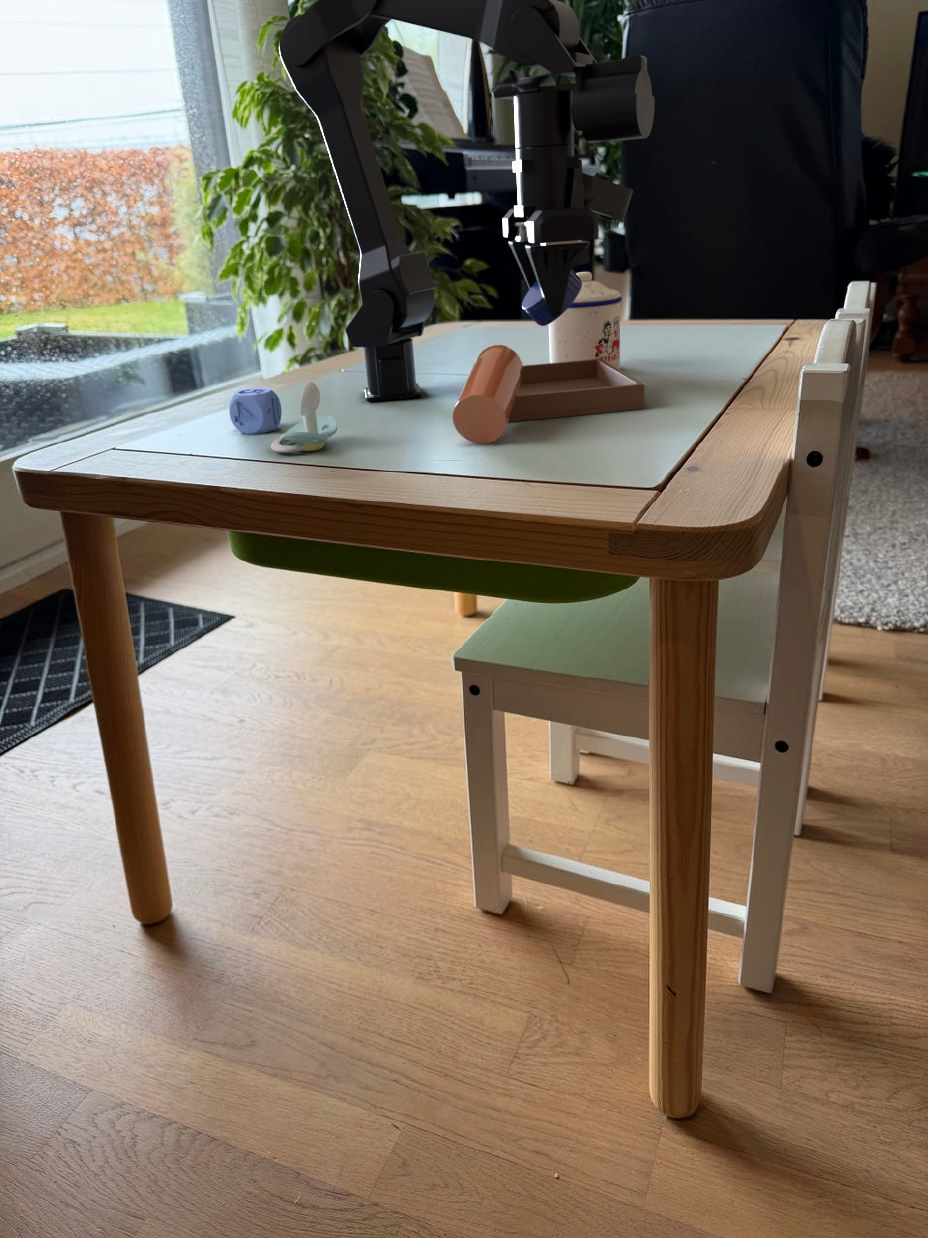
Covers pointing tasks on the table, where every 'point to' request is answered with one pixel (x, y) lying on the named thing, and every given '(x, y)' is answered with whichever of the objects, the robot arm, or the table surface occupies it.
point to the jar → (488, 395)
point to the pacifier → (307, 425)
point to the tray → (575, 390)
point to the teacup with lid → (588, 326)
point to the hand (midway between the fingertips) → (549, 312)
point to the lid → (536, 302)
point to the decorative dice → (255, 410)
